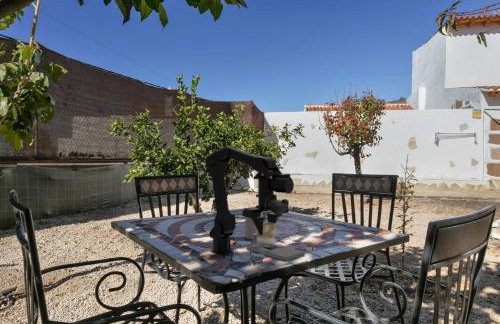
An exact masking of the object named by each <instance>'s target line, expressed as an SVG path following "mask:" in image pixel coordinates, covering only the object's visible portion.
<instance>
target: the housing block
mask: <svg viewBox="0 0 500 324" xmlns="http://www.w3.org/2000/svg"><path fill="white" fill-rule="evenodd" d="M257 237H259V238H263V239H270V238H274V239H275V238H276V237H277V222H276V223H271V222H268V221H266V222H263V234H262V235H259V233H258V230H257Z"/></svg>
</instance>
